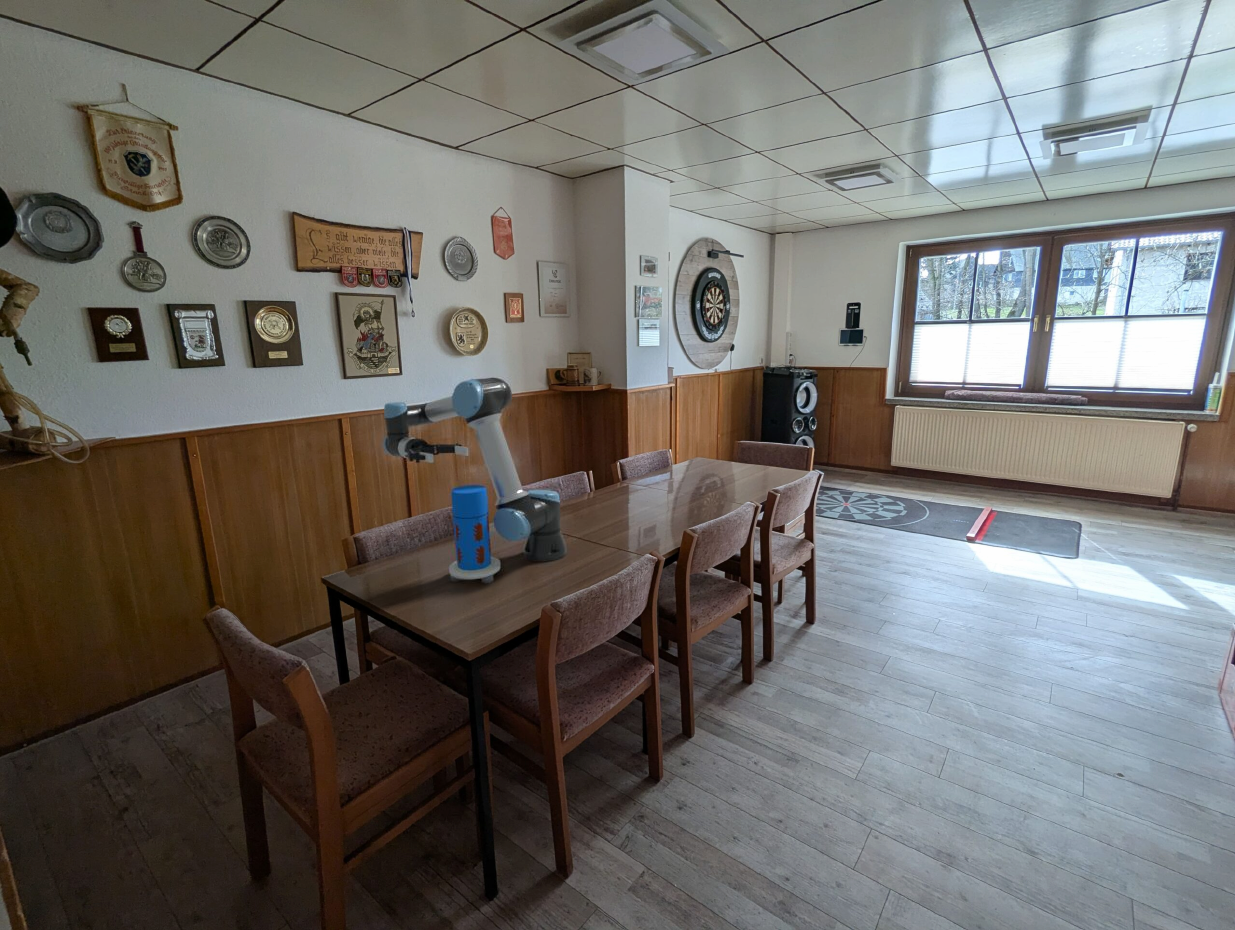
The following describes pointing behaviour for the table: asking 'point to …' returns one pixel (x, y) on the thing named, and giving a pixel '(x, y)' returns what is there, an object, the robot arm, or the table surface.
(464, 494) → the thermos
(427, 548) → the table surface
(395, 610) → the table surface
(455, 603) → the table surface
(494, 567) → the levelling base
